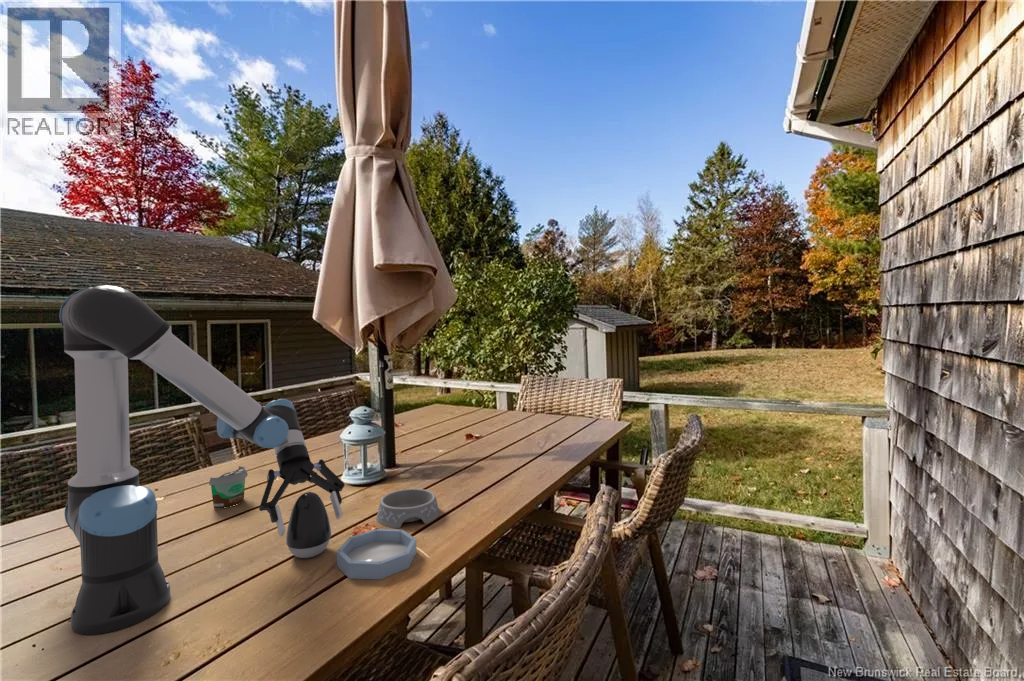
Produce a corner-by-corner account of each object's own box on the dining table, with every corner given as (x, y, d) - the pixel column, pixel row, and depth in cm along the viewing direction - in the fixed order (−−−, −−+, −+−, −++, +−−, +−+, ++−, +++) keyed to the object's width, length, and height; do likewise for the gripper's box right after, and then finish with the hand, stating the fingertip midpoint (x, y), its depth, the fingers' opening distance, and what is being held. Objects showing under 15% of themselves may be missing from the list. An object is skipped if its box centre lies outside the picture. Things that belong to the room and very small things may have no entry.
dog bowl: (374, 508, 143) (373, 491, 143) (433, 500, 149) (433, 484, 149) (378, 532, 127) (378, 513, 127) (445, 522, 133) (445, 503, 133)
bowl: (402, 580, 103) (401, 564, 103) (327, 577, 104) (327, 562, 104) (421, 543, 120) (421, 529, 120) (357, 541, 121) (356, 528, 121)
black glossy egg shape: (282, 566, 109) (280, 503, 108) (290, 546, 119) (289, 487, 118) (329, 560, 112) (327, 498, 111) (333, 540, 122) (332, 483, 121)
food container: (227, 512, 140) (226, 479, 139) (209, 510, 141) (208, 478, 141) (257, 497, 152) (256, 466, 152) (241, 495, 153) (240, 465, 153)
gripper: (334, 449, 135) (357, 517, 124) (236, 468, 118) (253, 548, 108) (341, 435, 131) (365, 503, 120) (240, 452, 114) (258, 533, 104)
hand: (312, 524), depth 114 cm, fingers open, 13 cm apart
